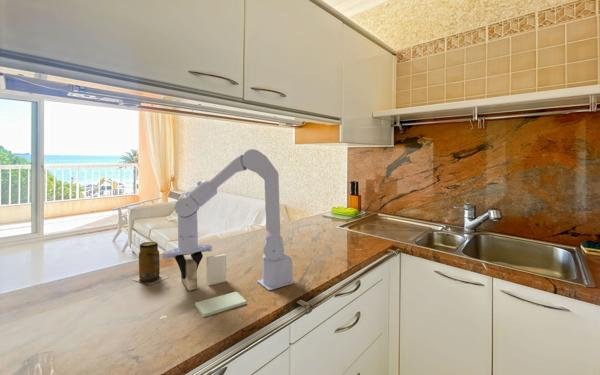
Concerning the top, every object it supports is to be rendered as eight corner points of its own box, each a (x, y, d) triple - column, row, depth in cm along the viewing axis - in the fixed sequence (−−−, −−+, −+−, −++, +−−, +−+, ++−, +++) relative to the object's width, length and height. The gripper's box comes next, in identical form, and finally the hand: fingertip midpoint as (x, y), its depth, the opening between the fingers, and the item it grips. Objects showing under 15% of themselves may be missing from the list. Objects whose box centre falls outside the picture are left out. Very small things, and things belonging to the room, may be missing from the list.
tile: (224, 279, 93) (224, 253, 93) (226, 281, 92) (226, 254, 92) (207, 284, 90) (206, 257, 89) (208, 285, 89) (207, 258, 88)
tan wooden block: (189, 278, 93) (188, 255, 92) (197, 288, 86) (196, 263, 85) (181, 280, 92) (180, 256, 91) (188, 290, 84) (188, 264, 84)
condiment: (152, 272, 98) (151, 239, 97) (169, 277, 94) (168, 243, 93) (132, 280, 92) (131, 244, 91) (148, 285, 88) (147, 248, 87)
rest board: (236, 294, 83) (236, 291, 83) (246, 303, 78) (246, 301, 78) (195, 305, 76) (195, 302, 76) (203, 317, 71) (203, 314, 71)
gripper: (207, 229, 95) (207, 267, 96) (160, 235, 86) (161, 277, 87) (214, 233, 89) (214, 274, 90) (164, 240, 81) (166, 285, 82)
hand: (188, 276), depth 89 cm, fingers closed on tan wooden block, 2 cm apart
